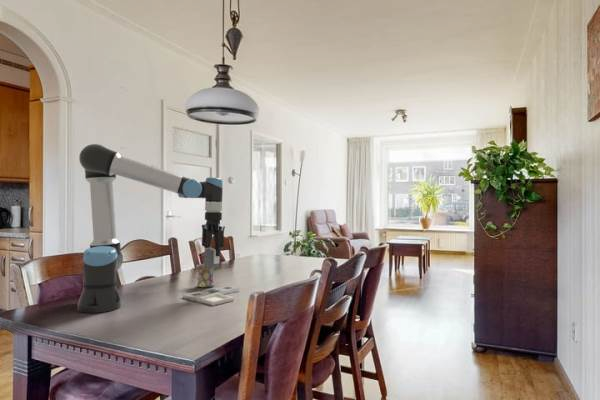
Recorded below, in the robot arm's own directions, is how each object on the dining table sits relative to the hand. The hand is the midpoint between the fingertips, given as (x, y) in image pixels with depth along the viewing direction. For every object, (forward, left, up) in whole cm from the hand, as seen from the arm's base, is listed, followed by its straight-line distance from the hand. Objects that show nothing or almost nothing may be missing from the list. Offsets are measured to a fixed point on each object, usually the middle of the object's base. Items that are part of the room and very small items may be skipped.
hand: (212, 262), depth 182 cm
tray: (-7, -11, -14) cm, 19 cm away
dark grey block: (0, 0, -2) cm, 2 cm away
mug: (+8, +17, -15) cm, 24 cm away
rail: (0, 0, -14) cm, 14 cm away
